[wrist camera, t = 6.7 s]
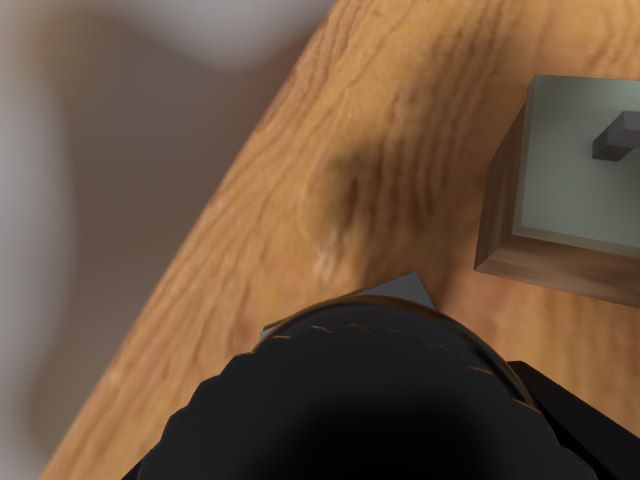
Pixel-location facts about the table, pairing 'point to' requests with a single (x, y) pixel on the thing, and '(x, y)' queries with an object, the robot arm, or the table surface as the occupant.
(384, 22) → the table surface
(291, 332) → the supplement bottle
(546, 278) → the toolbox
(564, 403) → the robot arm
